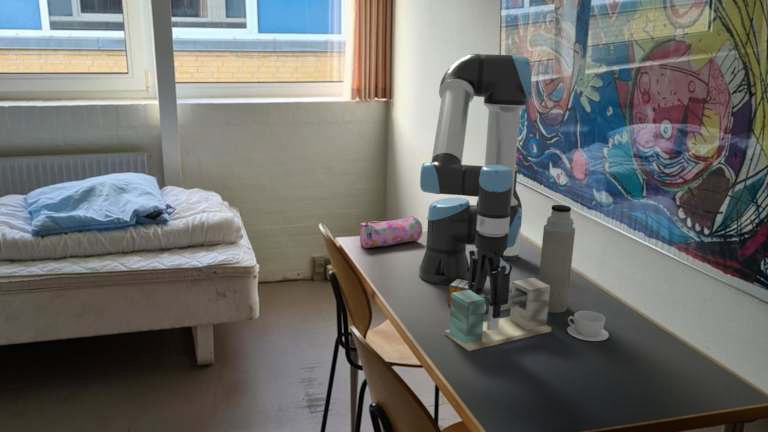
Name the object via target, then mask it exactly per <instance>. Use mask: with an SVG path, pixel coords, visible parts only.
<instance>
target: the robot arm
mask: <svg viewBox="0 0 768 432" xmlns="http://www.w3.org/2000/svg"><path fill="white" fill-rule="evenodd" d="M532 82H533V81H532V66H531V61H530V59H529V57H527V56H523V55H515V54H483V53H472V54H467V55H465V56H463V57H461V58H459V59H457V60H455V62H454V63H453V64H451V66H450V67H449V68H448V69H447V70H446V71H445V72H444V74H443V76H442V78H441V81H440V84H439V89H438V97H439V98H440V99H441V101H440V107H439V113H438V119H437V125H436V132H435V136H434V137H435V138H434V144H433V148H432V149H433V150H432V157H431V161H429V162H428V161H427V162H423V163H422V164H421V169H420V176H419V177H420V178H419V186H420V190H421V192H424V193H428V194H434V195H452V196H453V195H454V196H465V197H475V198H476V197H477V199H476V205H475V204H471V202H470V200H469V199H468V198H462V197H447V198H446V197H444V198H440V199H436V200H434V201H432V202H431V203H430V205H429V206H428V213H427V217H426V219H427V230H426V249H425V253H424V254H423V257H422V260H421V264H420V265H419V270H418V272H419V273H418V275H419V277H420V278H421V279H422V280H423V281H425V282H428V283H432V284H435V285H436V284H437V285H445V286H447V285H448V286H449V285H450V284H451V283H452V282H454V281H455V280H456V279H460V280H465V281H468V289H469V290H470V289H471V290H472V292H474V293H476V294H477V295H479V296H481V297H486V294H484V293H486V290H484V289H485V287H486V282H487V278H488V279H489V289H490V296H491V301H492V303H489V312H488V314H487V321H488V325H487V330H489V331H490V330H495V329H498V324H499V319H500V318H501V311H502V310H501V305H506V304H508V298H509V293H510V281H511V273H512V270H513V266H512V264H507V262H505V260H504V255H503V254H504V251H505V250H506V249H507V248H511V247H513V246H514V245H515V243H516V240H517V236H518V232H519V227H520V222H521V223H522V220H521V217H522V216H523V208H522V209H520V208H517V207H518V202H517V201H516V199H515V198H514V197H513V190H514V177H515V165H516V163H517V152H518V151H517V150H518V142H519V141H518V139H519V137H518V136H519V129H520V128H519V126H520V113H521V111H522V110H523V109H524V108H526V106H527V100H528V101H529V100H532V98H533V84H532ZM475 97H477V98H478V97H479V98H484V99H483V105H484V106H485V107H486V108H487V110H488V116H487V117H488V119H487V129H486V130H487V131H486V144H485V145H486V146H485V157H484V165H472V164H471V165H470V164H463V156H464V155H463V154H464V147H465V140H466V130H467V126H468V125H467V124H468V115H469V107H470V103H471V102H472V101H473V99H474V98H475ZM516 166H517V165H516ZM522 218H523V217H522ZM467 245H468V246H474V247H475V248H476V249H471V250H469V251H468V252H469V253H468V254H469V255H468V256H469V260H468V257H467ZM473 283H474V284H473ZM496 299H497V300H496Z"/></svg>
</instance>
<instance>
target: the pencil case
mask: <svg viewBox="0 0 768 432" xmlns="http://www.w3.org/2000/svg"><path fill="white" fill-rule="evenodd" d="M359 227H360V229H359V230H360V231H359V243H360V246H361V247H362V248H365V249H369V248H378V247H379V248H381V247H382V248H383V247H389V246H393V245H394V246H395V245H397V244H402V243H409V242H418V241H420V240H421V238H422V237H423V224H422V222H421V221H420V220H419V218H417V217H415V216H413V215H410V216H408V217H405V218H401V219H393V220H383V221H377V220H373V221H372V220H369V221H365V222H361V223H360V226H359Z"/></svg>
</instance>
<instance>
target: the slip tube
mask: <svg viewBox="0 0 768 432" xmlns="http://www.w3.org/2000/svg"><path fill="white" fill-rule="evenodd" d="M483 298H484V299H485V306H484V316H485V315H486V316H487V315H488V312H489V303H492V301H491V295H487V296H486V295H485V297H483ZM496 300H497V299H496ZM526 301H527V299H526V295H525V293H524V292H523V291H518V292H513V293H512V292H509V298H508V304H506V305H501V311H505V310H508V309H511V308H513V307H518V306H523V305H525V304H526Z"/></svg>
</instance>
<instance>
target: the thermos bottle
mask: <svg viewBox="0 0 768 432" xmlns="http://www.w3.org/2000/svg"><path fill="white" fill-rule="evenodd" d="M571 210H572V208H571V206H568V205H565V204H553V205H551V214H550V215H549V216H548V217H547V220H546V224H544V226H543V231H542V232H543V233H542V234H543V235H542V243H541V255H540V264H539V275H538V276H539V278H538V280H539V281H541V282H543V283H545V284H547V285H550V294H549V304H548V313H555V314H556V313H559V314H560V313H564V312H566V311H567V309H568V300H569V290H570V280H571V270H572V262H573V253H574V244H575V234H576V228H575V227H574V219H573V218H571Z"/></svg>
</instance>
